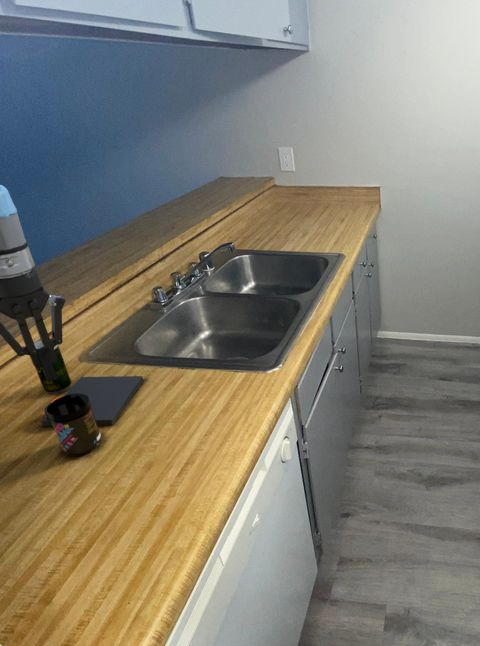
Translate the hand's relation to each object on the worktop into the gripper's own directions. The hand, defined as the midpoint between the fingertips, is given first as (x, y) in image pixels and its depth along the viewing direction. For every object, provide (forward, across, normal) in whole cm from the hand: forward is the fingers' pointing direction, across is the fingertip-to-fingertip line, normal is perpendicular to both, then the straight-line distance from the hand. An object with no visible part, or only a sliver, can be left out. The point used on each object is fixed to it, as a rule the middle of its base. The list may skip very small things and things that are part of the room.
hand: (51, 377), depth 97 cm
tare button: (+8, 0, 0) cm, 8 cm away
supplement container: (+11, 0, -12) cm, 16 cm away
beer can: (+11, +2, +13) cm, 17 cm away
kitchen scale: (+10, +6, +1) cm, 12 cm away
